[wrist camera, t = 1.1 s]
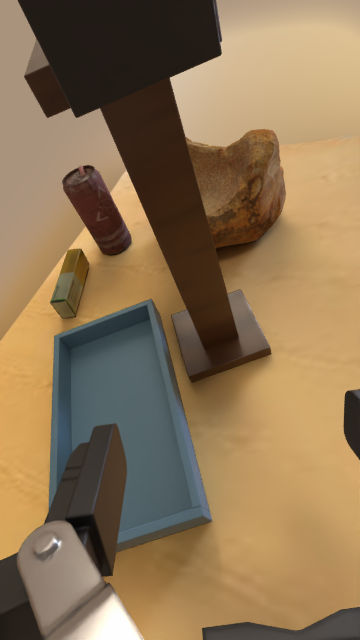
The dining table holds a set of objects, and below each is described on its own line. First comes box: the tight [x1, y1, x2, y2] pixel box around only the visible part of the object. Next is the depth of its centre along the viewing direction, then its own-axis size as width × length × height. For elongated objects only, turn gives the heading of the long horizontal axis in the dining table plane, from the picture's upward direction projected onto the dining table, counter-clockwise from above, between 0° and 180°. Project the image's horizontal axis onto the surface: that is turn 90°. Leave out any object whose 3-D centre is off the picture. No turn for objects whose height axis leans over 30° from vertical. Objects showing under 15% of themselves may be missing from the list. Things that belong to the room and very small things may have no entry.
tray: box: [49, 299, 212, 552], centre depth 38 cm, size 27×15×4 cm, turn 13°
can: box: [62, 165, 131, 255], centre depth 56 cm, size 6×6×14 cm
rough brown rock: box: [186, 129, 286, 249], centre depth 49 cm, size 23×17×15 cm
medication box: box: [50, 249, 89, 318], centre depth 55 cm, size 12×3×4 cm, turn 178°
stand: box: [24, 0, 271, 382], centre depth 30 cm, size 12×10×32 cm
